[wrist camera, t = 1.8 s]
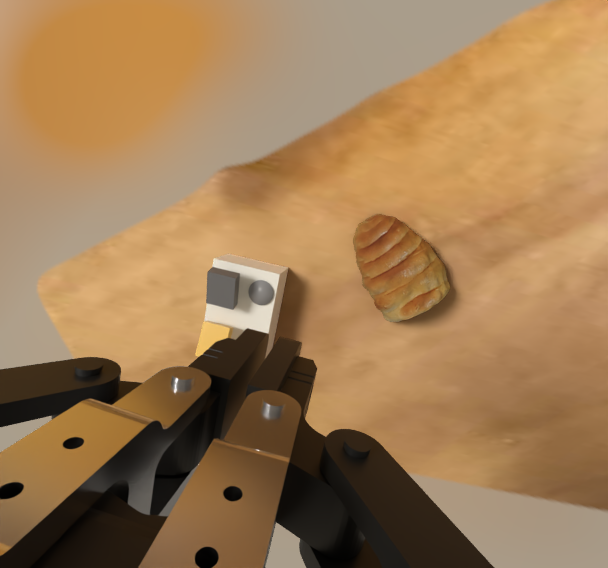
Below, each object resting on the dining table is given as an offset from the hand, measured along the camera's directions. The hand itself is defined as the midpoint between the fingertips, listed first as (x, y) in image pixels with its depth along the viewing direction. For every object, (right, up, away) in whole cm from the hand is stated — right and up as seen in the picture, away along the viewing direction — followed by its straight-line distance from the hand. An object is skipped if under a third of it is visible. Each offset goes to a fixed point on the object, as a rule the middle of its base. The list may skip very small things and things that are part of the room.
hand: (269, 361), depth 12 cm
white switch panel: (-5, -2, +25) cm, 25 cm away
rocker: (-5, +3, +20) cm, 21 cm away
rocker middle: (-6, -2, +21) cm, 22 cm away
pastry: (+10, +4, +22) cm, 24 cm away
